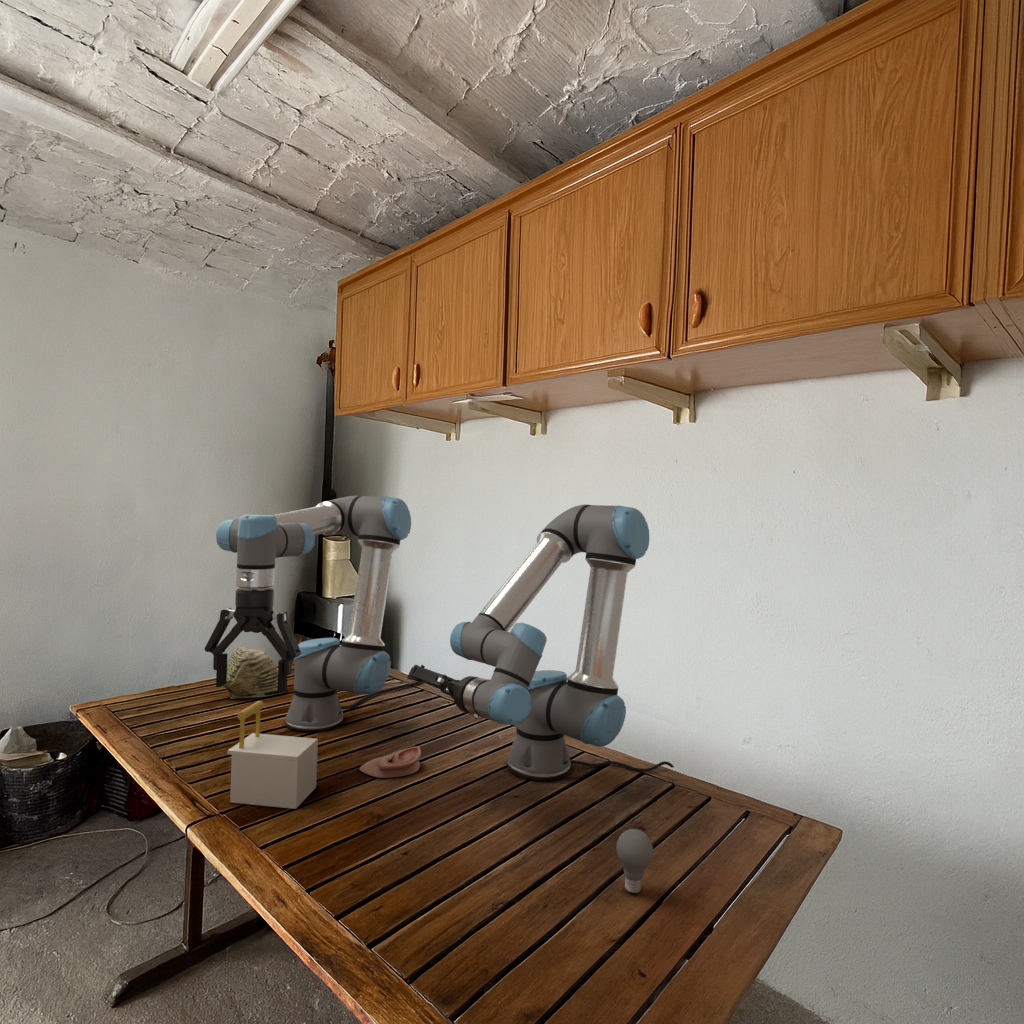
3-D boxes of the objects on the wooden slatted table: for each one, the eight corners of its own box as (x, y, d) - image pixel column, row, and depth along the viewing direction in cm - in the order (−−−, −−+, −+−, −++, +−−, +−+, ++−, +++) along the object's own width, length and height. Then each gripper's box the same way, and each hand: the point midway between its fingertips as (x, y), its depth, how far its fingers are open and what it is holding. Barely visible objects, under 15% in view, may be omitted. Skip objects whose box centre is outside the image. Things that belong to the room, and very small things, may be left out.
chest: (229, 802, 130) (231, 755, 129) (254, 781, 139) (256, 737, 139) (295, 809, 128) (297, 761, 128) (316, 787, 138) (317, 742, 138)
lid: (227, 754, 130) (228, 713, 129) (252, 736, 139) (253, 698, 139) (297, 760, 128) (299, 718, 128) (317, 742, 138) (319, 703, 138)
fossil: (218, 695, 195) (220, 647, 195) (278, 685, 208) (279, 640, 207) (228, 703, 189) (230, 653, 188) (289, 692, 201) (290, 645, 201)
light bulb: (610, 879, 108) (613, 822, 108) (644, 879, 109) (647, 822, 109) (619, 902, 102) (622, 840, 102) (655, 901, 103) (658, 840, 103)
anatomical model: (354, 757, 144) (374, 739, 156) (353, 774, 145) (374, 755, 156) (409, 764, 142) (426, 745, 153) (408, 782, 142) (425, 762, 153)
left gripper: (188, 586, 131) (185, 688, 132) (303, 593, 129) (300, 697, 129) (209, 582, 139) (206, 678, 139) (319, 588, 136) (315, 687, 136)
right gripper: (420, 687, 125) (382, 677, 142) (515, 737, 134) (468, 722, 152) (437, 652, 127) (398, 647, 145) (529, 703, 137) (481, 692, 155)
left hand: (251, 687), depth 134 cm, fingers open, 13 cm apart
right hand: (434, 685), depth 149 cm, fingers open, 13 cm apart
